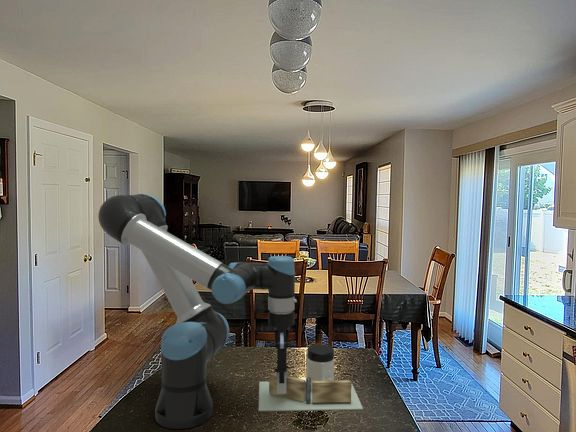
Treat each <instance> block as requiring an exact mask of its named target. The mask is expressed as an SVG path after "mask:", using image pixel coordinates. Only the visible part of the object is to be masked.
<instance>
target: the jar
mask: <svg viewBox="0 0 576 432" xmlns="http://www.w3.org/2000/svg"><path fill="white" fill-rule="evenodd" d="M334 358H335V349H334V348H333V347H332V346H331V345H328V344H322V343H317V344H316V343H315V344H311V345H309V346H308V347H307V353H306V375H305V376H306V378H307V377H310V378H311V391H312V381H335V377H334V376H335V359H334ZM306 378H305V379H306Z"/></svg>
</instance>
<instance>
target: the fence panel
mask: <svg viewBox="0 0 576 432" xmlns="http://www.w3.org/2000/svg"><path fill="white" fill-rule="evenodd" d="M305 381H306V379H301V378H296V377H293V376H289V375H286V394H277V373H276V372H270V373H269V376H268V382H269V393H270V394H274V395H278V396H282V397H286V398H291V399H295V400H299V401H303V402H304V400H305V384H306V382H305Z"/></svg>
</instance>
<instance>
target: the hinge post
mask: <svg viewBox="0 0 576 432" xmlns="http://www.w3.org/2000/svg"><path fill="white" fill-rule="evenodd" d="M305 381H306V404H310V403H311V378H310V377H307V378H305Z"/></svg>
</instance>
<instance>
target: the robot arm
mask: <svg viewBox="0 0 576 432" xmlns="http://www.w3.org/2000/svg"><path fill="white" fill-rule="evenodd" d="M166 216H167V212H166V209H165V205H164V204H163V203H162V201H161V200H160V199H158V198H157V197H155V196H153V195H150V194H144V193H137V194H117V195H113V196H111V197H109V198H107V199H106V200H104V202H103V203H102V204H101V206H100V207H99V211H98V216H97V217H98V222H99V224H100V228H102V230H103V231H104V232H105V234H107V235H108V236H109V237H110V238H113V239H114V240H115V241H117V242H119V243H120V244H122V245H124V246H130V245H132V246H134V247H135V248H137V249H138V250H141V253H142V254H143V256H144V258H145V259H146V261H147V264H148V265H149V267H150V270H151V271H152V272H153V274H154V276H155V278H156V280H157V282H158V283H159V285H160V287H161V289H162V290H163V293H164V295H165V297H166V298H167V300H168V302H169V303H170V305H171V308H172V309H173V311H174V314H175V315H176V316H177V317H176V318H177V319H176V323H175V324H173V325H171V326H169V327H168V328H166V330H165V331H164V332H163V333H162V336H161V344H160V351H161V354H160V356H161V358H160V359H161V389H160V392H159V396H158V399H157V401H156V404H155V408H154V409H155V410H154V414H155V415H154V417H155V422H156V423H157V424H158V425H160V426H161V427H164V428H167V429H170V430H171V429H172V430H184V429H190V428H191V429H192V428H194V427H197V426H200V425H202V424H204V423H205V422H207V421H208V420H209V419H210V418H211V417H212V415H213V410H214V403H213V398H212V396H211V392H210V390H209V388H208V387H209V386H208V384H207V364H208V362H210V360H212V358H213V357H214V356H215V355H216V354H217V353H219V352H221V350H222V349H223V348H224V347H225V345H226V344H227V342H228V339H229V335H230V326H229V323H228V321H227V319H226V317H224V315H222V314H221V313H219V312H217V311H215V310H214V308H213V306H212V305H211V303H206V302H204V301H203V298H202V297H201V295H200V293H199V291H198V290H197V288H196V286H195V284H194V282H196V283H198V284H200V285H201V286H204V287H205V288H206V289H209V290H210V291H211V294H212V296H213V298H214V299H215V300H216V301H217V302H219V303H220V304H223V305H231V304H233V303H234V302H235V303H236V302H237V301H239V300H241V299H242V297H244V296H245V295H246V294H247V293H249V292H250V291H252V290H263V291H264V290H266V291H267V290H268V291H267V292H268V295H267V305H268V306H267V308H268V309H267V310H268V314H267V315H268V320H267V322H268V326H270V327H272V328H277V329H274V340H275V348H276V350H277V351H276V352H277V353H276V354H277V356H276V357H277V359H276V364H277V365H276V368H274V373H276V374H277V394H286V376H287V371H288V369H289V365H287V349H288V348H289V337H290V334H289V329H287V328H291V327H293V326H294V325H295V322H296V320H295V319H296V316H295V315H296V313H295V303H297V302H298V300H297V298H296V297H295V294H296V293H295V291H296V290H295V289H296V288H295V287H296V286H295V285H296V284H295V279H296V272H295V271H296V270H295V260H294V258H293V257H291V256H287V255H274V256H272V255H271V256H270V257H268V261H267V262H265V263H262V262H243V261H239V262H230V263H229V264H228V265H226V264H224V263H223V262H221V261H220V260H218V259H216V258H214V257H212V256H211V255H210V254H207V253H205V252H203V251H202V250H200V249H198V248H197V247H194V246H193V245H191V243H187V242H186V241H184V240H182V239H181V238H178V237H177V236H175V235H173V234H172V233H170V232H168V231H167V230H168V228H169V226H168V225H167V222H166ZM193 281H194V282H193Z"/></svg>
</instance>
